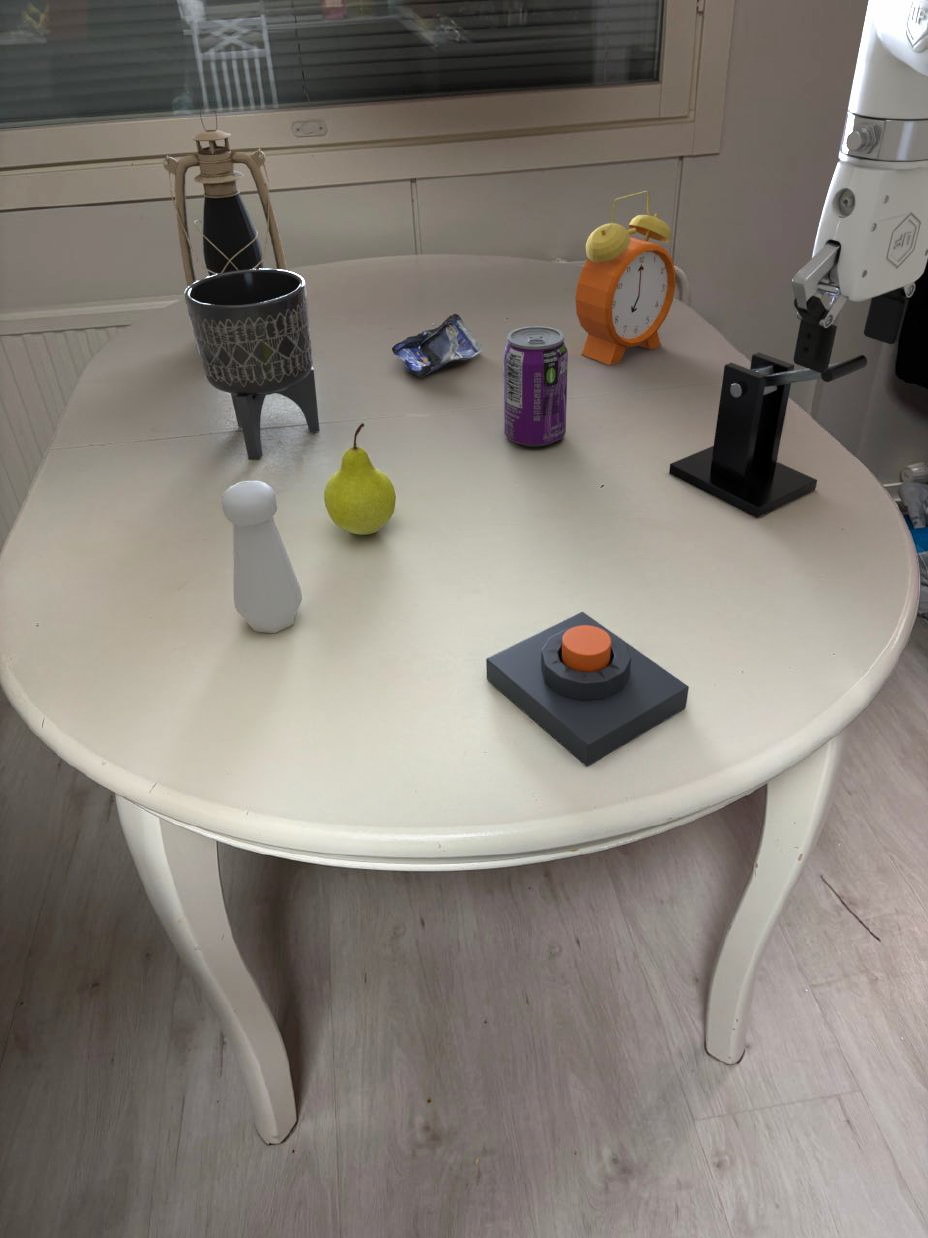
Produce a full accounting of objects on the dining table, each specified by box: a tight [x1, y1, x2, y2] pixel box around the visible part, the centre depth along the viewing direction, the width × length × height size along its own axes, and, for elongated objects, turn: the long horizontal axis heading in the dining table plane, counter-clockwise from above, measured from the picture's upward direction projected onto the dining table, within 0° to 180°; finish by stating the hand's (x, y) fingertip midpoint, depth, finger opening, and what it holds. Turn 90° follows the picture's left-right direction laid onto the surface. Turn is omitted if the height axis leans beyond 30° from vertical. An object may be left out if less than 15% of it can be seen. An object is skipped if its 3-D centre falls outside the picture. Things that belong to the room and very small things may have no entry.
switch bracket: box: [668, 352, 818, 519], centre depth 93 cm, size 12×9×13 cm
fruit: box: [323, 422, 397, 536], centre depth 89 cm, size 7×7×12 cm
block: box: [485, 611, 690, 767], centre depth 71 cm, size 12×10×4 cm
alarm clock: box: [574, 190, 677, 366], centre depth 122 cm, size 13×6×20 cm, turn 129°
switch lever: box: [751, 354, 868, 395], centre depth 87 cm, size 12×5×2 cm, turn 36°
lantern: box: [162, 106, 288, 288], centre depth 130 cm, size 14×12×30 cm
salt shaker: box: [221, 480, 303, 634], centre depth 77 cm, size 6×6×13 cm
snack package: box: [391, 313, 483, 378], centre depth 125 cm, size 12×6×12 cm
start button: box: [562, 625, 611, 673], centre depth 69 cm, size 4×4×2 cm
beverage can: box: [502, 325, 569, 448], centre depth 104 cm, size 7×7×12 cm
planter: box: [183, 268, 320, 461], centre depth 105 cm, size 13×13×18 cm
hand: (845, 353), depth 82 cm, fingers open, 9 cm apart
